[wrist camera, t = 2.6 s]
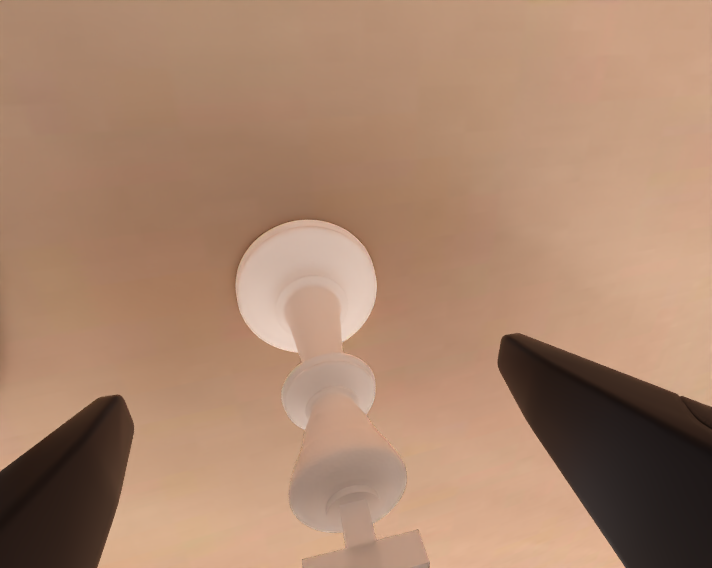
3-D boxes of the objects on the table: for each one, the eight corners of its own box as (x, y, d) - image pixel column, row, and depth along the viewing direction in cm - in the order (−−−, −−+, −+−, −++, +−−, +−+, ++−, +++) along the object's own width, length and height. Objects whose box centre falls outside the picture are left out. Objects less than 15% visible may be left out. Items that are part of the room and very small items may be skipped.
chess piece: (221, 228, 12) (68, 599, 3) (371, 211, 12) (615, 462, 4) (250, 354, 14) (214, 784, 5) (376, 332, 15) (536, 673, 6)
